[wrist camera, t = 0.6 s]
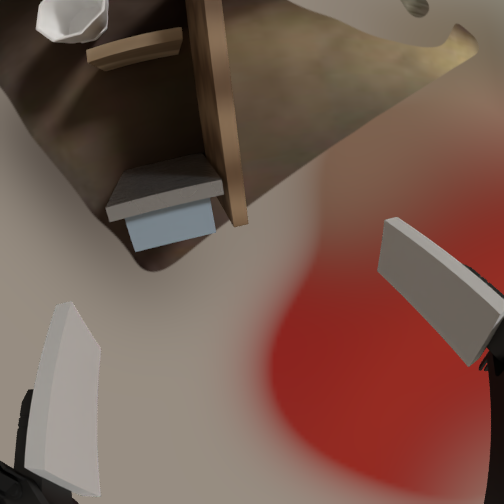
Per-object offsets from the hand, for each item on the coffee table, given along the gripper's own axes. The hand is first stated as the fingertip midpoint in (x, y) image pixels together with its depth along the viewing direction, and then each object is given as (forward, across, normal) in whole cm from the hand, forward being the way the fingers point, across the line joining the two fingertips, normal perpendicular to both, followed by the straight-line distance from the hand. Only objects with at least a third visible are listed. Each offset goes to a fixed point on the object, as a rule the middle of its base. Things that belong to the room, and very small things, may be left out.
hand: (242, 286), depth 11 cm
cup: (+25, -8, +20) cm, 32 cm away
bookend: (+24, -3, 0) cm, 24 cm away
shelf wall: (+24, +3, +8) cm, 26 cm away
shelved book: (+24, -3, -3) cm, 24 cm away
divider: (+24, -3, +12) cm, 28 cm away
